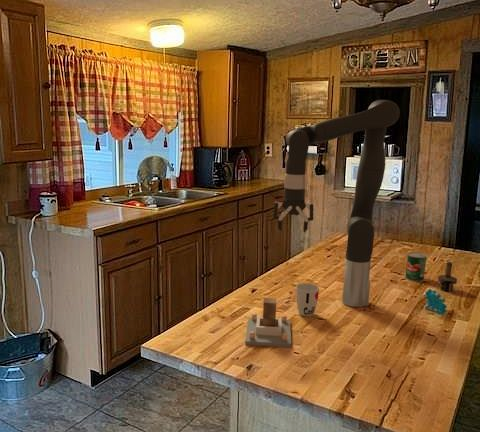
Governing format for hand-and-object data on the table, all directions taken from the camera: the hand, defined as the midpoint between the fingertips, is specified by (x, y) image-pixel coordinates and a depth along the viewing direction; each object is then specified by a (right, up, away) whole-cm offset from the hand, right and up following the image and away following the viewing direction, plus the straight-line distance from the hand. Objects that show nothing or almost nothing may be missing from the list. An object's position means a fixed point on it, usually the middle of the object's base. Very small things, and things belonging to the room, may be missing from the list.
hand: (292, 231), depth 180 cm
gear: (+53, -30, +4) cm, 61 cm away
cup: (+5, -30, -2) cm, 30 cm away
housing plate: (-10, -32, -19) cm, 39 cm away
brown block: (-10, -31, -19) cm, 38 cm away
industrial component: (+67, -25, +27) cm, 76 cm away
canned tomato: (+58, -22, +39) cm, 73 cm away
